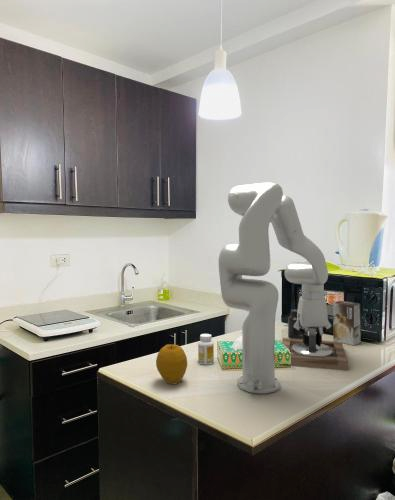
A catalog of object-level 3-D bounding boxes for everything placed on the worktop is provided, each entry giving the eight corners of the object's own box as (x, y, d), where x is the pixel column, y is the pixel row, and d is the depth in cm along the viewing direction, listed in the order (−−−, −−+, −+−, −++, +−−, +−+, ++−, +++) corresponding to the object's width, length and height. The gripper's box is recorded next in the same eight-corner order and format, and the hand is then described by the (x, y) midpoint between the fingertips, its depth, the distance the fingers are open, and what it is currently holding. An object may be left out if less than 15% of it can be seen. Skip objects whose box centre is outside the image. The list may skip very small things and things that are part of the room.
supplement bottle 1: (214, 359, 136) (213, 333, 136) (213, 365, 131) (213, 337, 130) (199, 359, 137) (198, 332, 136) (197, 364, 132) (197, 337, 131)
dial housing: (347, 370, 125) (347, 360, 125) (279, 364, 131) (279, 355, 131) (341, 349, 146) (341, 341, 146) (282, 345, 152) (282, 337, 152)
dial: (331, 347, 143) (331, 328, 143) (333, 360, 130) (334, 338, 130) (293, 345, 147) (293, 325, 147) (291, 356, 134) (291, 335, 134)
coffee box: (361, 342, 155) (361, 303, 154) (353, 346, 151) (354, 305, 150) (339, 337, 162) (340, 300, 161) (332, 341, 157) (332, 302, 156)
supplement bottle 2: (284, 336, 164) (285, 309, 163) (298, 335, 166) (299, 308, 165) (293, 341, 157) (293, 312, 157) (307, 339, 159) (308, 311, 159)
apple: (149, 381, 118) (149, 344, 117) (175, 373, 124) (174, 337, 123) (168, 391, 111) (167, 351, 110) (194, 382, 117) (193, 344, 116)
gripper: (330, 293, 142) (330, 341, 143) (286, 294, 141) (286, 343, 142) (339, 296, 134) (339, 347, 136) (293, 298, 133) (293, 349, 134)
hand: (312, 344), depth 139 cm, fingers closed on dial, 3 cm apart
